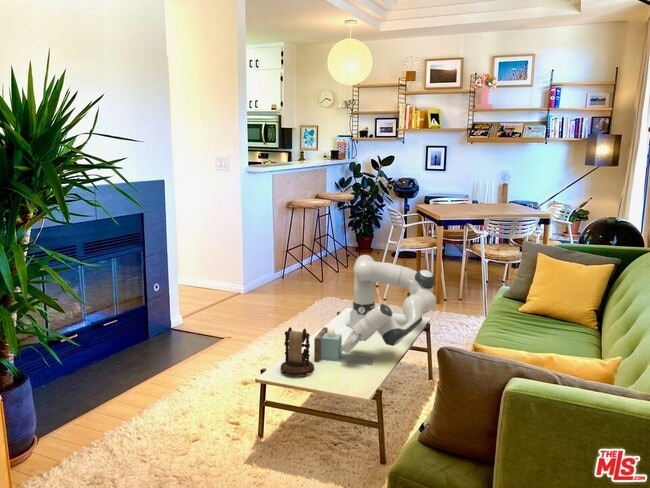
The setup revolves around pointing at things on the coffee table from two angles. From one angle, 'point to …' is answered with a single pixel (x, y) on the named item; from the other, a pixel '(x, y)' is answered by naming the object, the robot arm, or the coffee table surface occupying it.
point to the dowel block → (331, 345)
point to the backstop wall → (318, 344)
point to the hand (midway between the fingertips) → (341, 349)
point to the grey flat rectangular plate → (354, 359)
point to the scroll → (297, 354)
